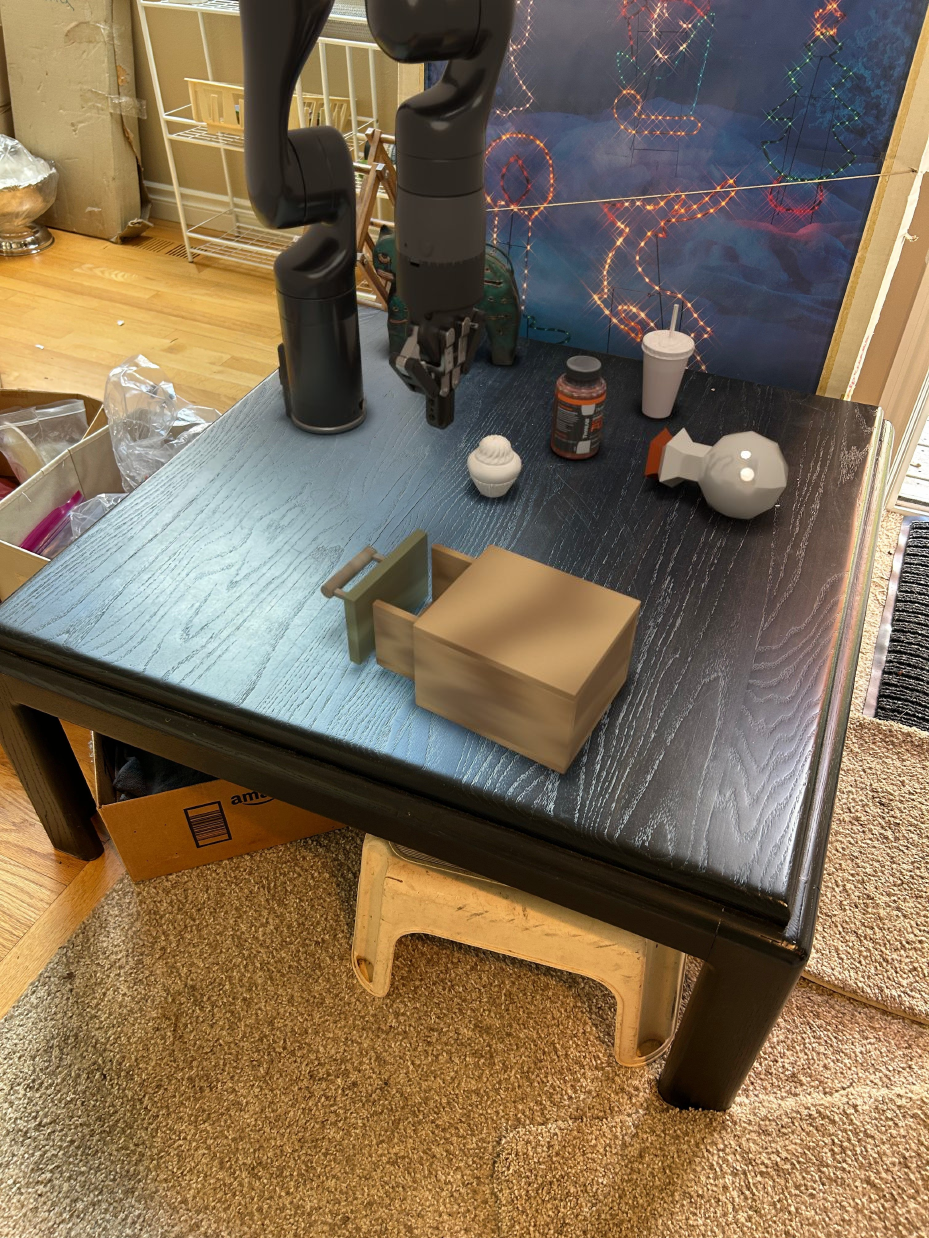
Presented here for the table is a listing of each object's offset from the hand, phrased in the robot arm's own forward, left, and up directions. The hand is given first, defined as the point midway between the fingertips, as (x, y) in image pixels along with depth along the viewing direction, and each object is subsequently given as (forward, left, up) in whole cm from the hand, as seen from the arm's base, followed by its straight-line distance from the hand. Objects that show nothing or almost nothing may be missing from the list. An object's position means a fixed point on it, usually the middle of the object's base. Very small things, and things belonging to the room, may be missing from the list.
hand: (440, 424), depth 86 cm
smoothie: (+9, +39, -15) cm, 42 cm away
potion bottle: (+22, +23, -15) cm, 35 cm away
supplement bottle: (+4, +25, -15) cm, 29 cm away
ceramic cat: (-22, +38, -15) cm, 46 cm away
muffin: (0, +12, -15) cm, 19 cm away
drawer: (+7, -14, -14) cm, 21 cm away
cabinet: (+18, -14, -15) cm, 27 cm away
